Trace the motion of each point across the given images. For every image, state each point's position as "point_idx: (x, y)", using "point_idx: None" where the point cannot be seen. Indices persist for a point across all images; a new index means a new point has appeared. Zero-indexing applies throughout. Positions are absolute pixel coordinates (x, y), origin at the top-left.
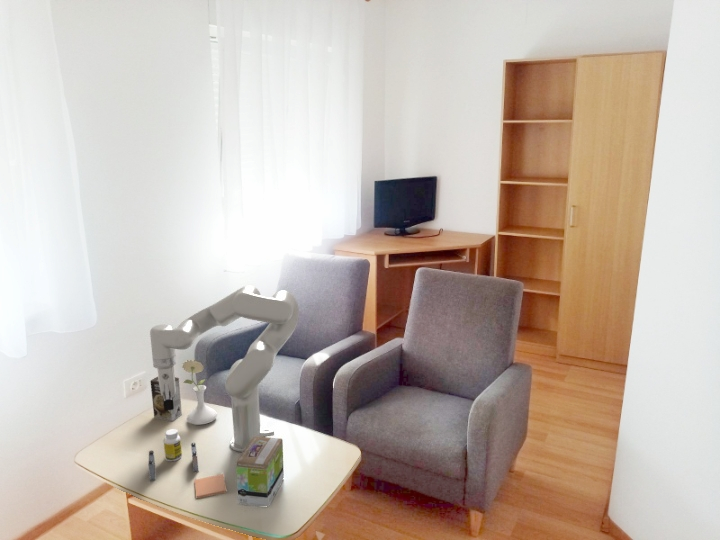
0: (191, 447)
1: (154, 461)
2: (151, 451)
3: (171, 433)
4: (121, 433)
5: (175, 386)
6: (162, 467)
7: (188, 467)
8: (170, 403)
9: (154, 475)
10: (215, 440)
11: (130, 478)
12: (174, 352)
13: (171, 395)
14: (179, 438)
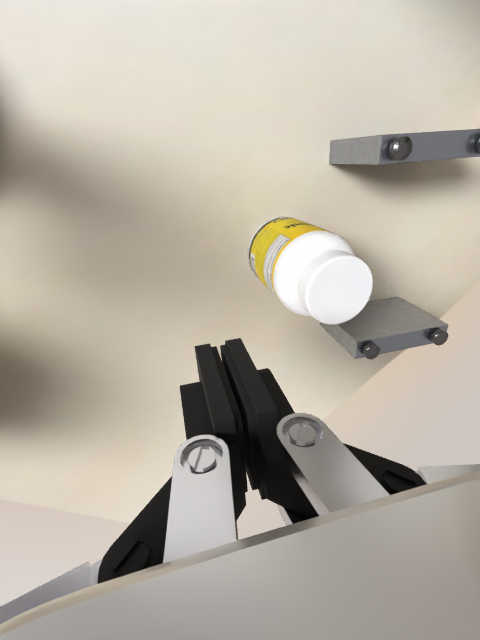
0: (413, 161)
1: (356, 321)
2: (373, 350)
3: (360, 289)
4: (29, 478)
5: (375, 599)
6: None
7: (376, 181)
8: (286, 400)
9: (411, 304)
10: (172, 8)
11: (351, 370)
12: None
13: (367, 472)
14: (334, 236)
